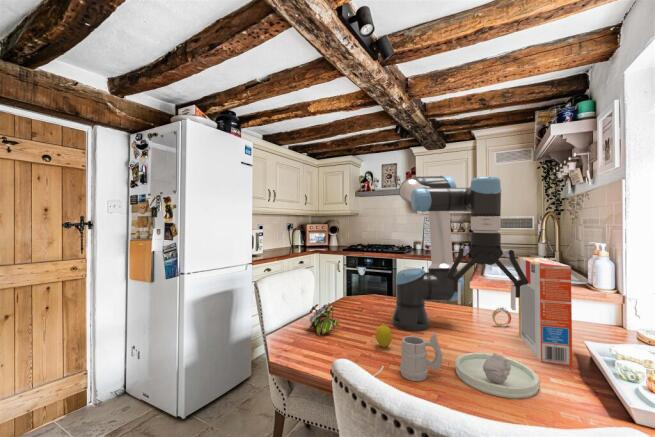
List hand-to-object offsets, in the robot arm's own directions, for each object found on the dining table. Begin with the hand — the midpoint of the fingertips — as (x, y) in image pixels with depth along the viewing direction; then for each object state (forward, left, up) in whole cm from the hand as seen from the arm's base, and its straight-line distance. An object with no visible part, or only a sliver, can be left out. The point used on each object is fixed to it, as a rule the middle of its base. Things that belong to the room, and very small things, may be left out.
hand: (485, 306), depth 84 cm
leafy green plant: (-57, +13, -20) cm, 62 cm away
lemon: (-31, +6, -20) cm, 37 cm away
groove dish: (+2, -1, -20) cm, 20 cm away
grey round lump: (+2, -6, -19) cm, 20 cm away
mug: (-17, -8, -20) cm, 27 cm away
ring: (+9, +46, -20) cm, 51 cm away
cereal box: (+19, +27, -20) cm, 39 cm away
